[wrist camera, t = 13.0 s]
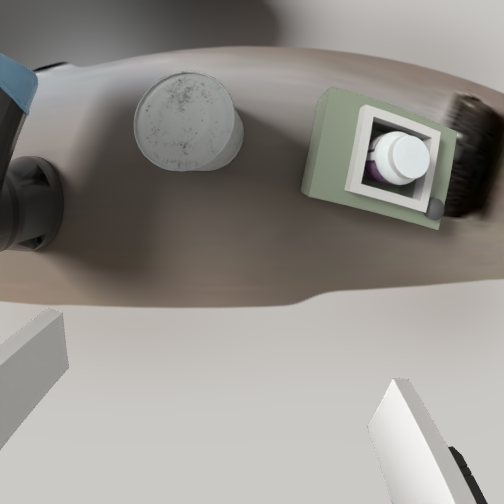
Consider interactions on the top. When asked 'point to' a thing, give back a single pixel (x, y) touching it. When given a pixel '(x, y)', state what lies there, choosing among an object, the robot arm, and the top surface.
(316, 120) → the green open box
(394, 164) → the pill bottle
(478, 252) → the top surface
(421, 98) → the top surface
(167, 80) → the speckled grey cylinder
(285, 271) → the top surface
